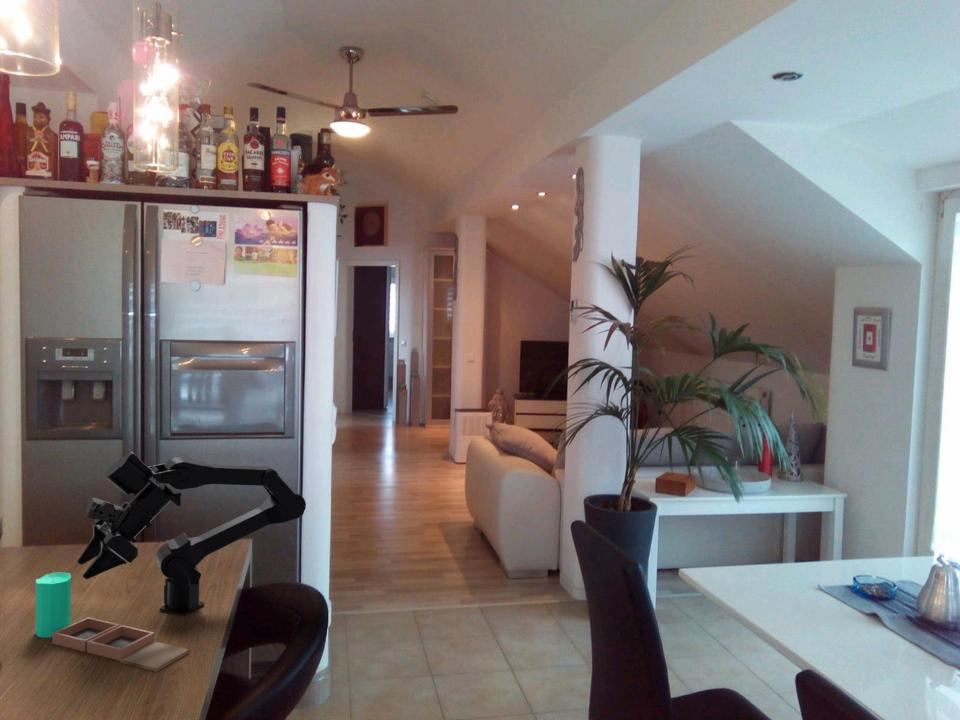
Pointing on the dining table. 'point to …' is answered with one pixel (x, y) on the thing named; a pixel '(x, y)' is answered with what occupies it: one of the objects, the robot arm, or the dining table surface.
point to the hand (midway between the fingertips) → (81, 570)
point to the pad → (154, 656)
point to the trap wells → (103, 638)
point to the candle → (53, 603)
